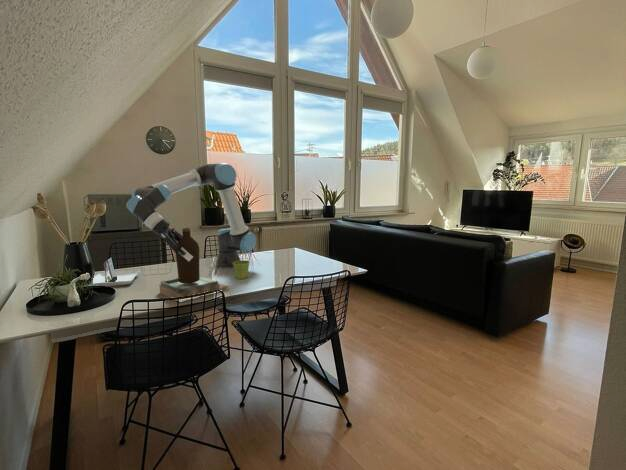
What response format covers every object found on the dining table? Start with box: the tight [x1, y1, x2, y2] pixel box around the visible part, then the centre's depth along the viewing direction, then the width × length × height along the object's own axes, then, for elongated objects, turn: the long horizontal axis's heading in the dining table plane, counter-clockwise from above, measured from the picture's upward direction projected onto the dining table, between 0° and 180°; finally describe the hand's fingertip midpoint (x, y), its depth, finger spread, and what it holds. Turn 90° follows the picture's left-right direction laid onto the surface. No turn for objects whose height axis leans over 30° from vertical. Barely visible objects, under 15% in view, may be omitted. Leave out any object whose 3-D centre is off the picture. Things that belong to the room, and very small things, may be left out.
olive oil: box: [175, 227, 201, 283], centre depth 161 cm, size 11×11×25 cm
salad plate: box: [92, 269, 141, 287], centre depth 181 cm, size 21×21×3 cm
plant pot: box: [233, 259, 251, 280], centre depth 188 cm, size 9×9×9 cm
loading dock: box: [158, 276, 230, 298], centre depth 165 cm, size 25×20×6 cm
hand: (194, 256), depth 161 cm, fingers closed on olive oil, 10 cm apart
